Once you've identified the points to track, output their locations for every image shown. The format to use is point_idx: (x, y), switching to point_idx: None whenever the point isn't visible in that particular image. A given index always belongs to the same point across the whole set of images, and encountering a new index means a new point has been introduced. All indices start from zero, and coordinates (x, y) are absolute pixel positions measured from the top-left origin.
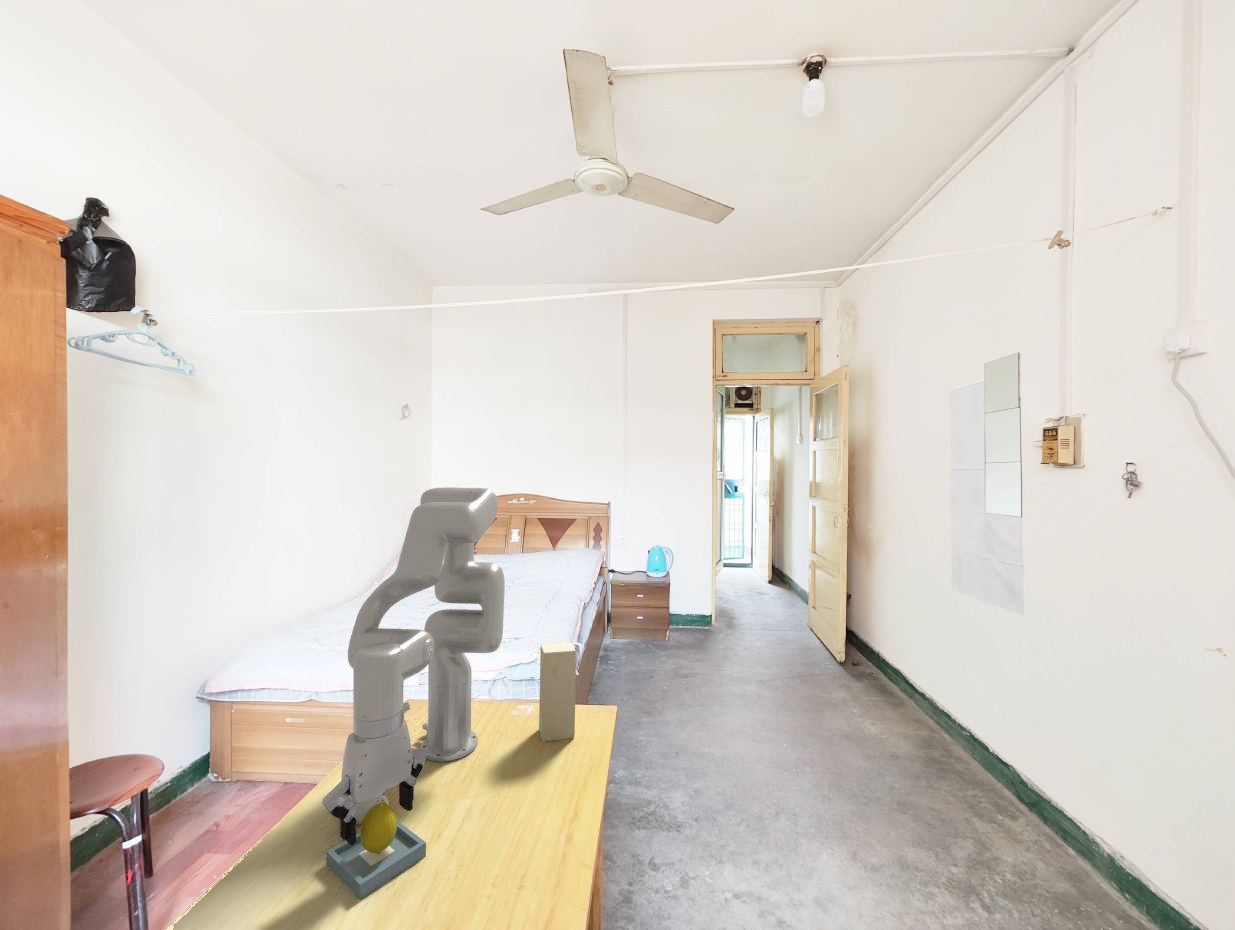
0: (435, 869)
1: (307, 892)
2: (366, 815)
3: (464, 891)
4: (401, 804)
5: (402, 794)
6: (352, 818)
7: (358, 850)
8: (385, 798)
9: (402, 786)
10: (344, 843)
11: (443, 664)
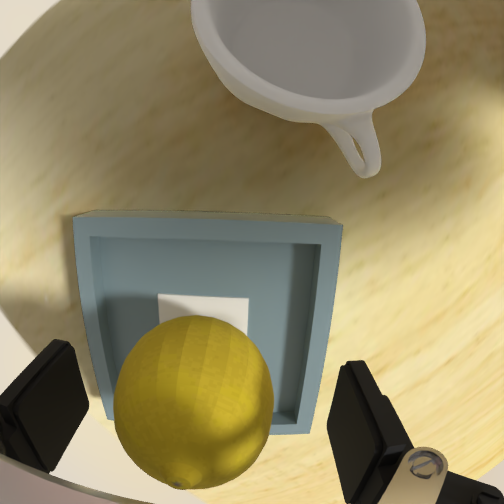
0: (284, 447)
1: (36, 271)
2: (122, 431)
3: (276, 499)
4: (340, 386)
5: (350, 436)
6: (36, 467)
7: (167, 272)
8: (373, 165)
9: (362, 471)
10: (128, 231)
11: None
